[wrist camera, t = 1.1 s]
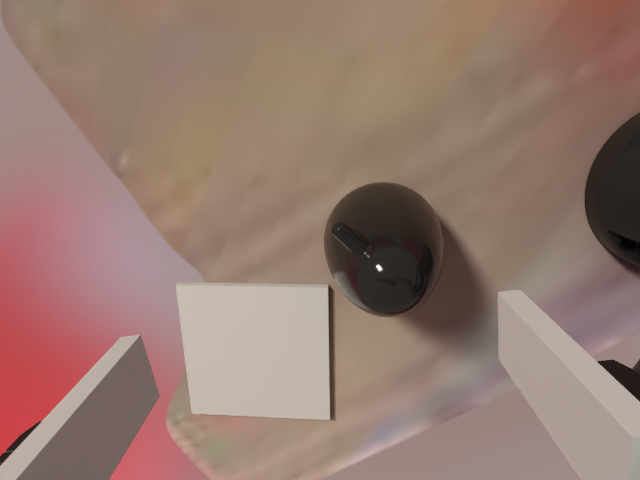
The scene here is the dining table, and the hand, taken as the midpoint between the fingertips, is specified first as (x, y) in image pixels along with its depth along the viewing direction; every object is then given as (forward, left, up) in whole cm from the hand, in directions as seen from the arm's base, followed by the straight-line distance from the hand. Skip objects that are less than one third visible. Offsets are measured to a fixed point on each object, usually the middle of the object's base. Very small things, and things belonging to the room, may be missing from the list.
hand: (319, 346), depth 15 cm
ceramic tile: (+9, +16, -25) cm, 31 cm away
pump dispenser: (-4, +2, -26) cm, 26 cm away
